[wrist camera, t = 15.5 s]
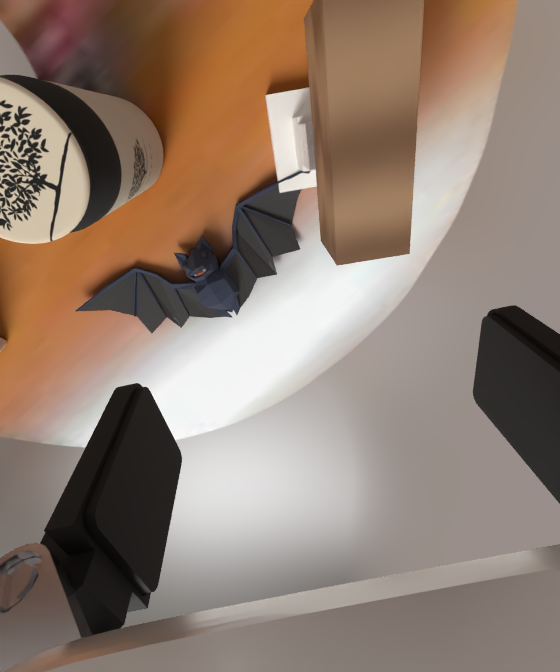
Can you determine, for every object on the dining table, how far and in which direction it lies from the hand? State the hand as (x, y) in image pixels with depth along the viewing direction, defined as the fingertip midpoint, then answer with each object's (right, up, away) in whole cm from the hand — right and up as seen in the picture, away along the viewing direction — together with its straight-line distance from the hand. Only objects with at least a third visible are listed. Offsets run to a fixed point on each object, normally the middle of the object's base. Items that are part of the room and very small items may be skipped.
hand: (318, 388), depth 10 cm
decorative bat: (-9, +9, +30) cm, 32 cm away
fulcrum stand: (+3, +20, +23) cm, 31 cm away
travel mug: (-16, +19, +23) cm, 34 cm away
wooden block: (+4, +16, +15) cm, 22 cm away
